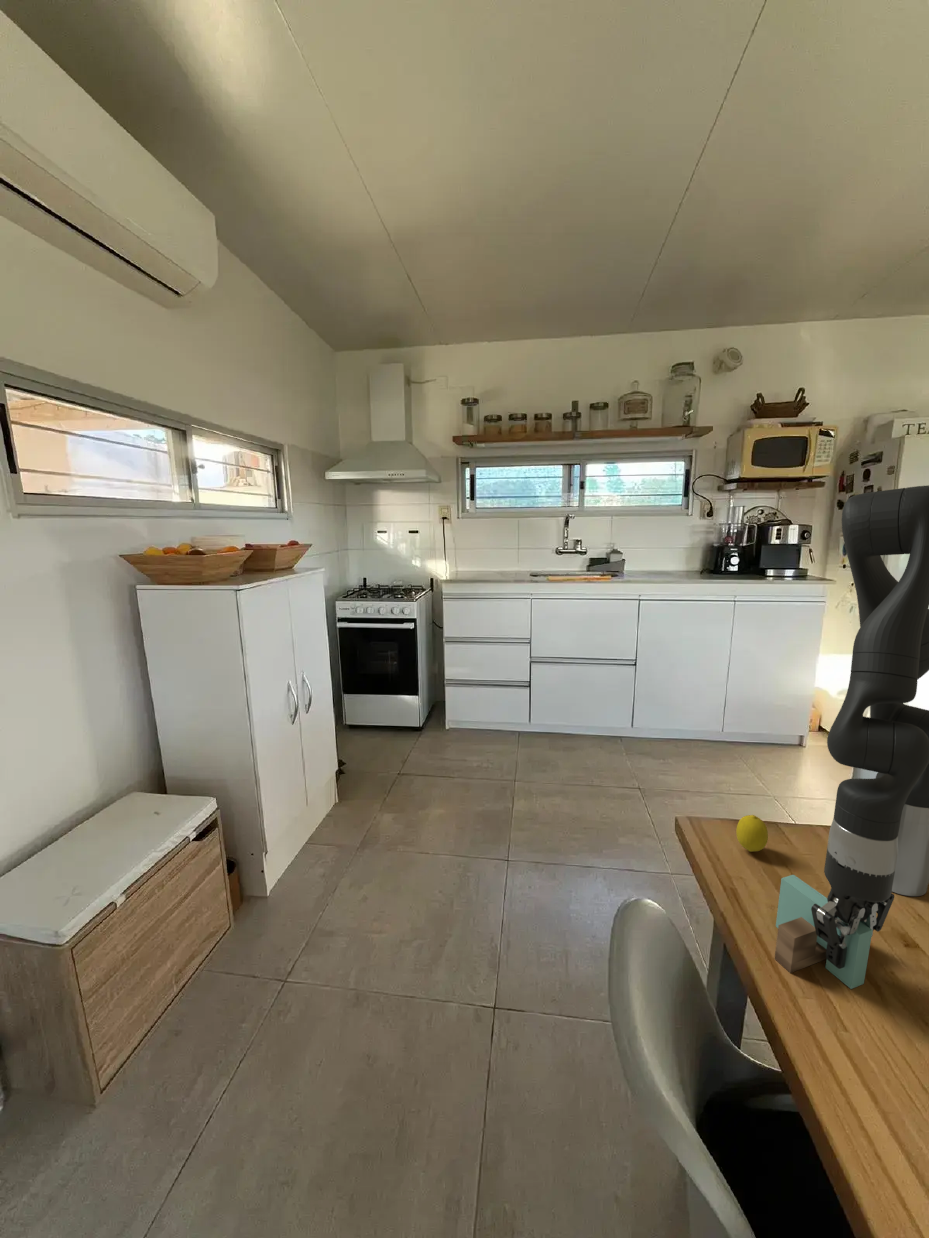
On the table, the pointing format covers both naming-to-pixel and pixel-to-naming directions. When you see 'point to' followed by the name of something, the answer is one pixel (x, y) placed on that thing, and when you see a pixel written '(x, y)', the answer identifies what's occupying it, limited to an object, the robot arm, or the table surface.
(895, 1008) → the table surface
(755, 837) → the lemon
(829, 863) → the robot arm
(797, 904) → the teal arch block
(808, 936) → the brown wooden u-shaped block
